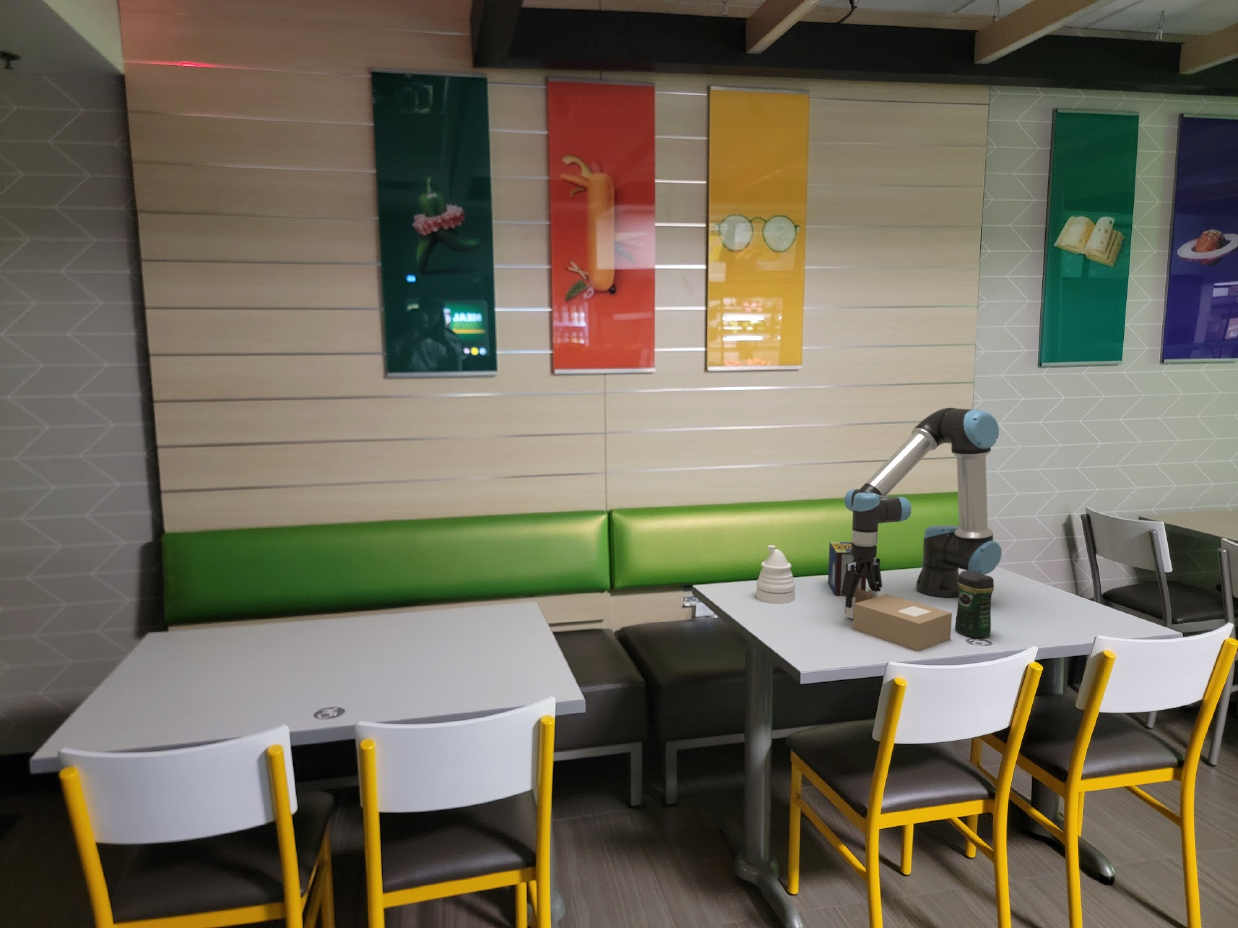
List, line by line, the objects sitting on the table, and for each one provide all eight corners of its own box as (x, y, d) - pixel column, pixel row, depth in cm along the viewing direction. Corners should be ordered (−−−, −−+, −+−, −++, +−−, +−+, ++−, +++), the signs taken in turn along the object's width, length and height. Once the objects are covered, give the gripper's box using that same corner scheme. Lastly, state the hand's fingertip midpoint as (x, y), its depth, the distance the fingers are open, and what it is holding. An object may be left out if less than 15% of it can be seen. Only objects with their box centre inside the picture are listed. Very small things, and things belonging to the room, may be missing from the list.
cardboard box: (885, 618, 253) (886, 593, 251) (950, 639, 235) (952, 612, 234) (852, 628, 243) (854, 603, 242) (917, 651, 226) (919, 623, 224)
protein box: (857, 583, 290) (859, 541, 288) (865, 596, 275) (867, 552, 273) (827, 582, 291) (829, 540, 289) (834, 595, 276) (836, 551, 274)
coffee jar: (995, 637, 237) (1000, 575, 234) (974, 640, 234) (978, 578, 232) (970, 626, 246) (974, 567, 243) (949, 629, 243) (953, 569, 241)
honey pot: (765, 604, 266) (767, 551, 263) (750, 593, 278) (751, 542, 276) (801, 602, 269) (803, 549, 266) (784, 590, 281) (786, 540, 279)
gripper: (876, 536, 257) (873, 604, 260) (830, 546, 243) (827, 617, 247) (896, 541, 251) (893, 610, 254) (850, 551, 238) (847, 624, 241)
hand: (860, 613), depth 250 cm, fingers open, 10 cm apart
